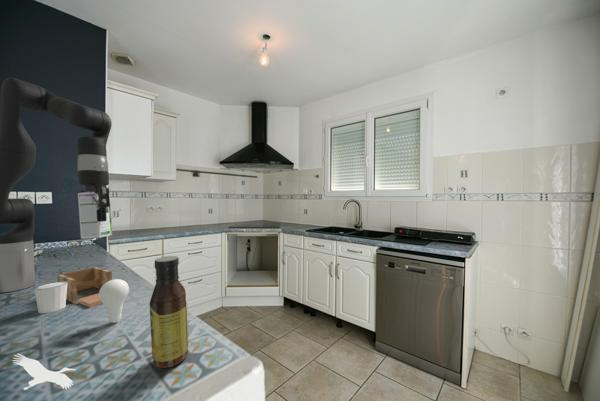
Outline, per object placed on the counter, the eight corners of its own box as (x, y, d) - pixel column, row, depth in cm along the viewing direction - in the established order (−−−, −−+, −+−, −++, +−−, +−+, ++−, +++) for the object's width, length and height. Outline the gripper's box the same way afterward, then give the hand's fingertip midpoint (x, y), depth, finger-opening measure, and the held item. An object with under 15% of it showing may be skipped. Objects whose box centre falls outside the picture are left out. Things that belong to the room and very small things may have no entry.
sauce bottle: (162, 350, 50) (159, 254, 50) (193, 348, 50) (190, 252, 50) (144, 373, 43) (140, 262, 43) (180, 370, 44) (177, 261, 44)
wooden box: (58, 295, 81) (57, 274, 81) (95, 285, 90) (95, 267, 90) (73, 303, 75) (72, 280, 75) (112, 291, 84) (111, 271, 84)
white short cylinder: (47, 315, 67) (46, 290, 67) (28, 313, 69) (27, 288, 68) (74, 304, 74) (73, 281, 74) (57, 303, 75) (56, 280, 75)
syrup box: (100, 238, 75) (97, 191, 75) (79, 239, 75) (77, 192, 75) (112, 235, 81) (110, 192, 81) (93, 236, 80) (91, 192, 80)
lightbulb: (135, 318, 64) (134, 276, 64) (110, 330, 58) (109, 285, 58) (119, 315, 66) (118, 275, 66) (93, 326, 60) (92, 282, 60)
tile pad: (79, 302, 75) (78, 298, 75) (110, 293, 82) (110, 289, 82) (89, 307, 71) (89, 303, 71) (122, 297, 78) (121, 293, 78)
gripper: (69, 171, 78) (71, 222, 78) (88, 166, 71) (91, 222, 71) (97, 173, 84) (100, 220, 84) (117, 169, 77) (120, 220, 77)
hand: (96, 221), depth 78 cm, fingers closed on syrup box, 7 cm apart
